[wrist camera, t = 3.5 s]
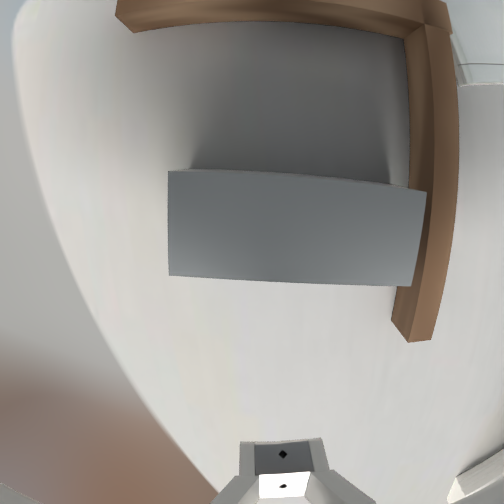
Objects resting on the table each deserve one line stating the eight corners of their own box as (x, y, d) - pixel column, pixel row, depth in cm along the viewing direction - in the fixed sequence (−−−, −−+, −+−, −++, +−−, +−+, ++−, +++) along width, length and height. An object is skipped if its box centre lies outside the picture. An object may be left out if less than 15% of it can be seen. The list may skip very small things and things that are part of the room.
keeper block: (388, 183, 15) (426, 192, 11) (378, 258, 16) (411, 286, 12) (190, 168, 15) (168, 171, 11) (189, 247, 16) (169, 275, 12)
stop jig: (425, 17, 11) (446, 2, 9) (415, 318, 17) (434, 339, 14) (137, 4, 12) (120, -16, 9) (144, 321, 17) (129, 344, 14)
